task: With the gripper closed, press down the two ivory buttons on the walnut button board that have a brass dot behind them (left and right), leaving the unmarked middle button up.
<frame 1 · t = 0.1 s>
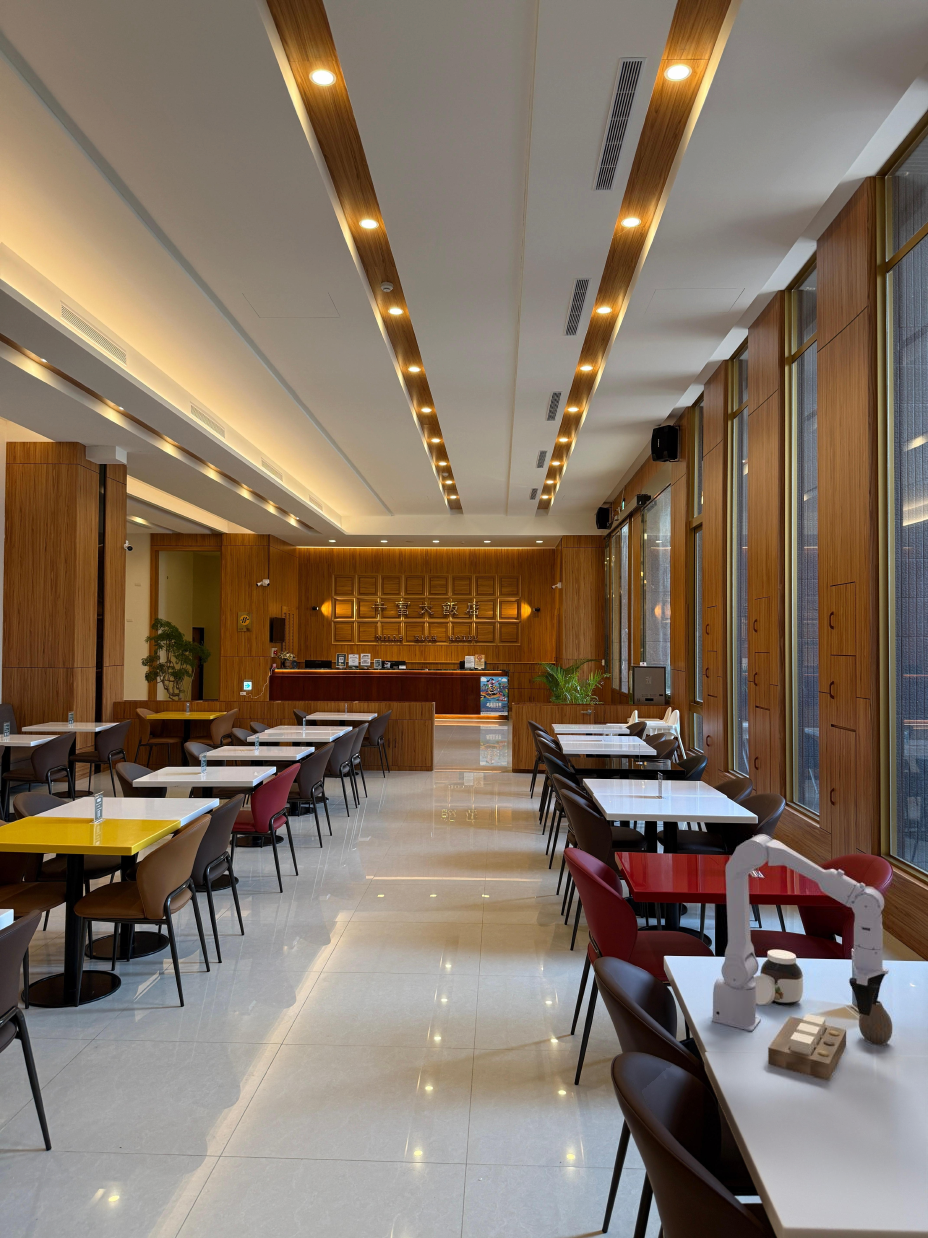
hand: (867, 1009, 184), 10 cm above the table, tool pointing down, fingers open, 7 cm apart
spread jar: (775, 1003, 212), on the table
button board: (808, 1055, 183), on the table
button left: (802, 1047, 178), point 4 cm above the table, slide at 0.0 cm
button middle: (808, 1037, 183), point 4 cm above the table, slide at 0.0 cm
button right: (814, 1028, 188), point 4 cm above the table, slide at 0.0 cm
vase: (875, 1042, 191), on the table
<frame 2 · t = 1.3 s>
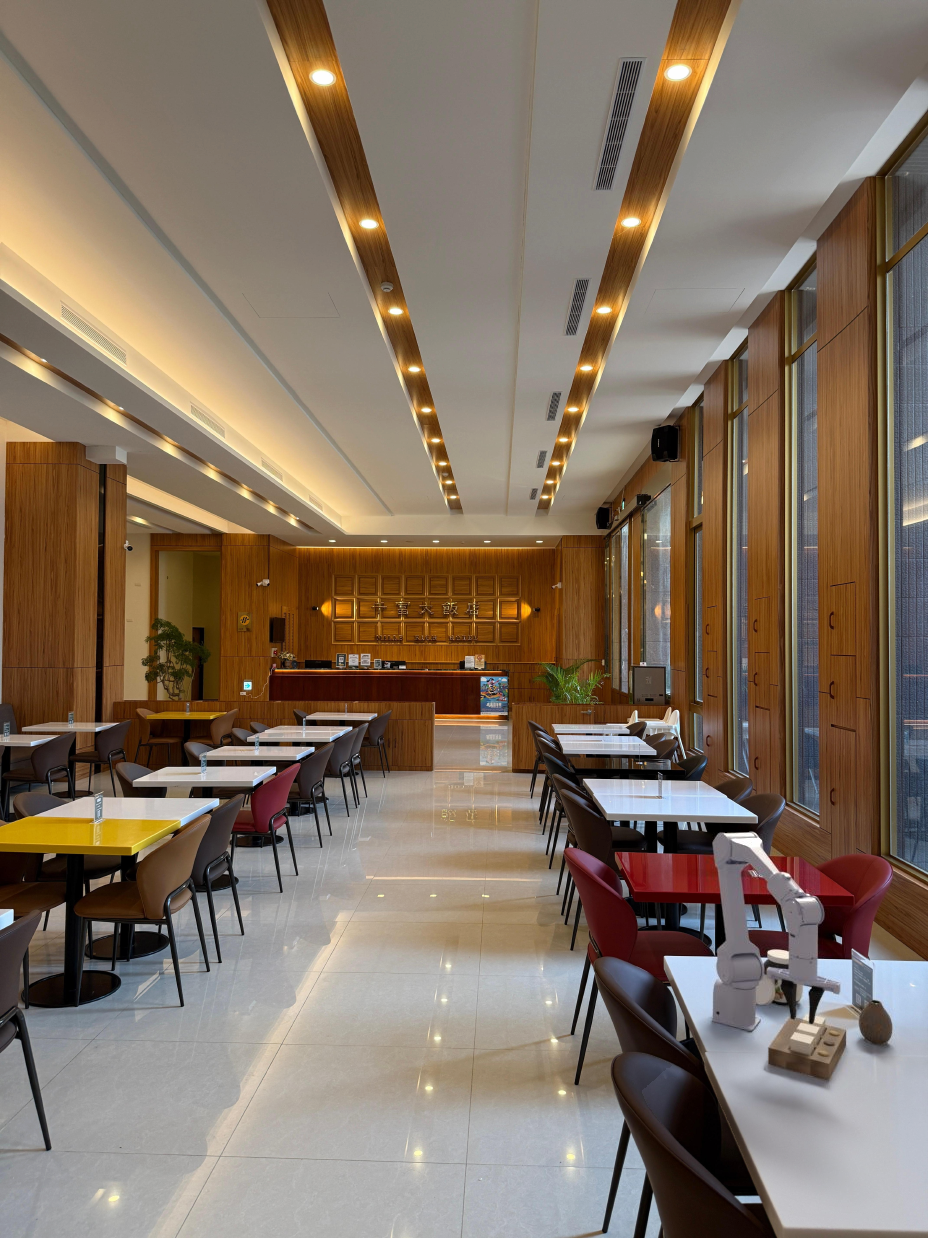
hand: (802, 1020, 179), 9 cm above the table, tool pointing down, fingers open, 3 cm apart
nothing on the table moved.
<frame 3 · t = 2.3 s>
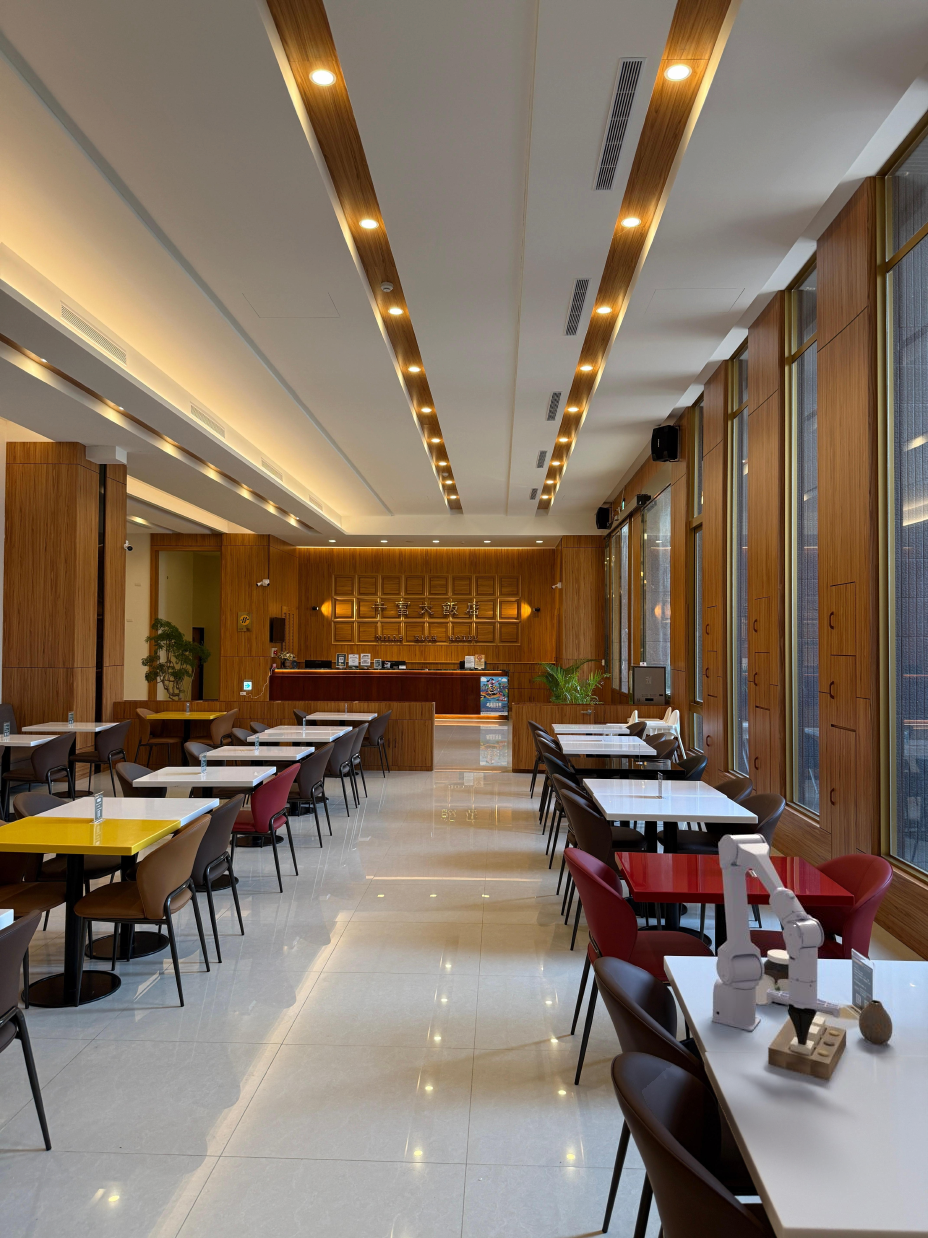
hand: (802, 1043, 178), 5 cm above the table, tool pointing down, fingers closed, pressing on button left
button left: (802, 1052, 178), point 3 cm above the table, slide at 1.0 cm, touching gripper
everything else where it was.
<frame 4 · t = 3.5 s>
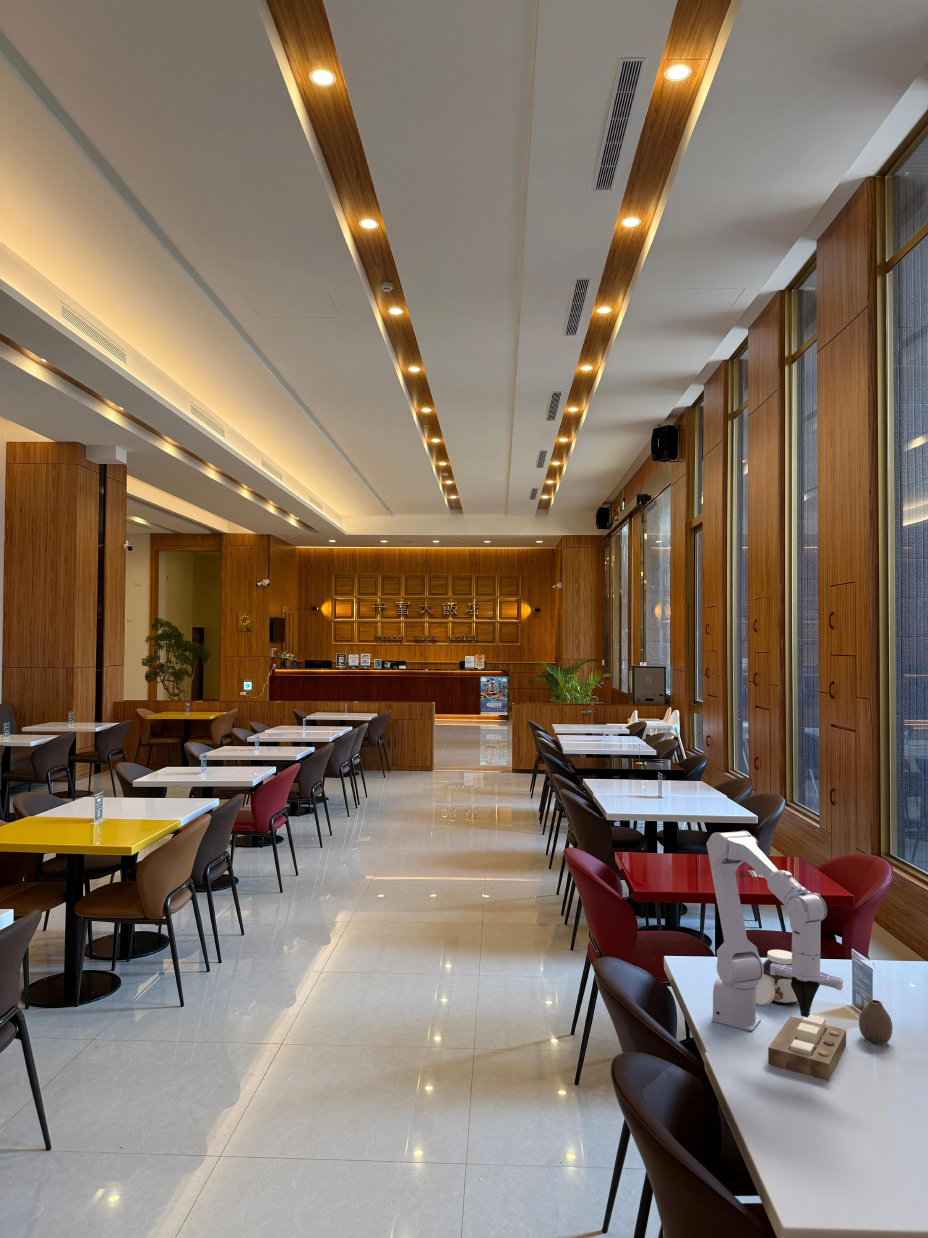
hand: (805, 1015, 181), 9 cm above the table, tool pointing down, fingers closed
button left: (802, 1055, 178), point 2 cm above the table, slide at 1.5 cm
everything else where it was.
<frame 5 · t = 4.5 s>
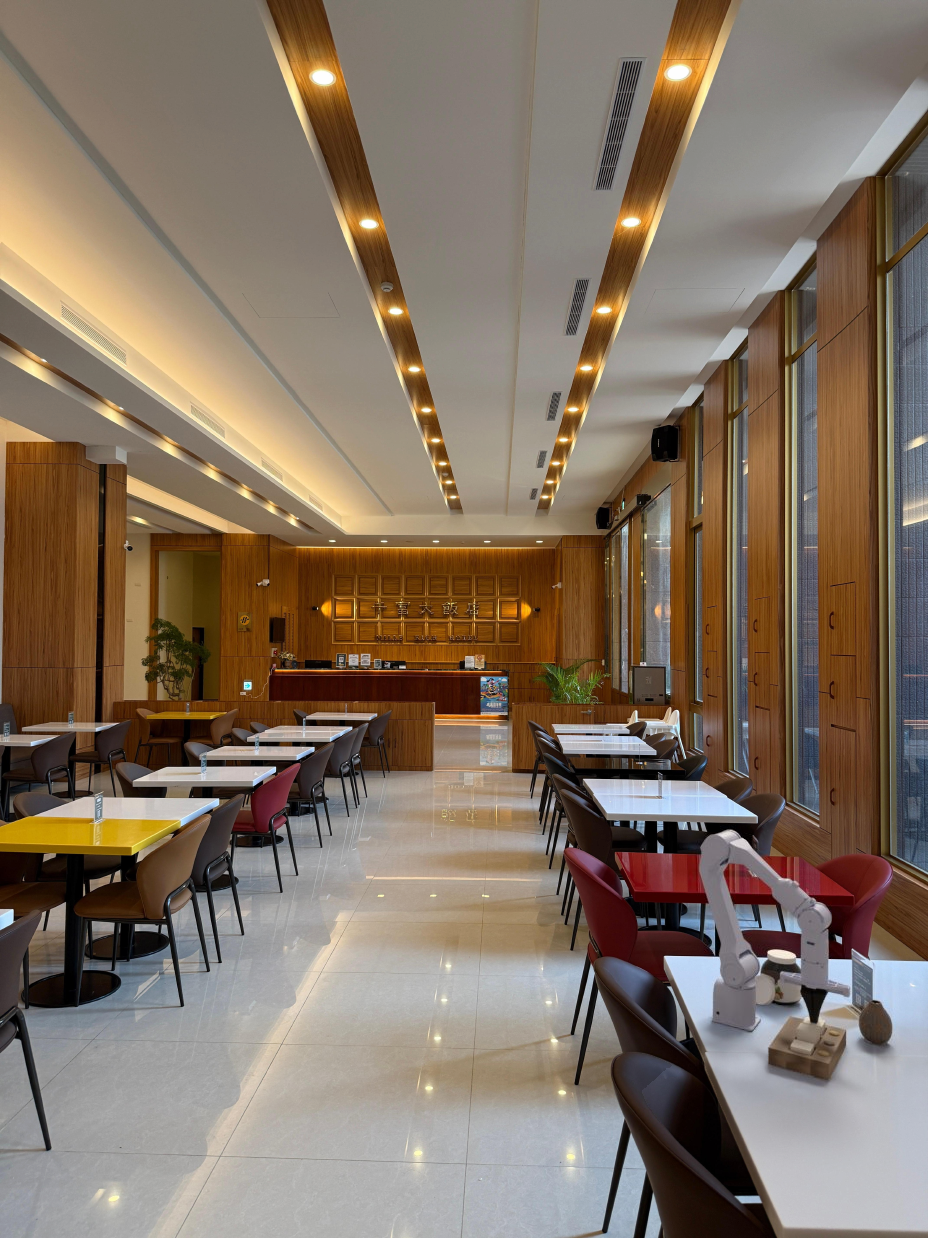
hand: (814, 1021, 188), 5 cm above the table, tool pointing down, fingers closed, pressing on button right
button right: (814, 1030, 188), point 3 cm above the table, slide at 0.6 cm, touching gripper
everything else where it was.
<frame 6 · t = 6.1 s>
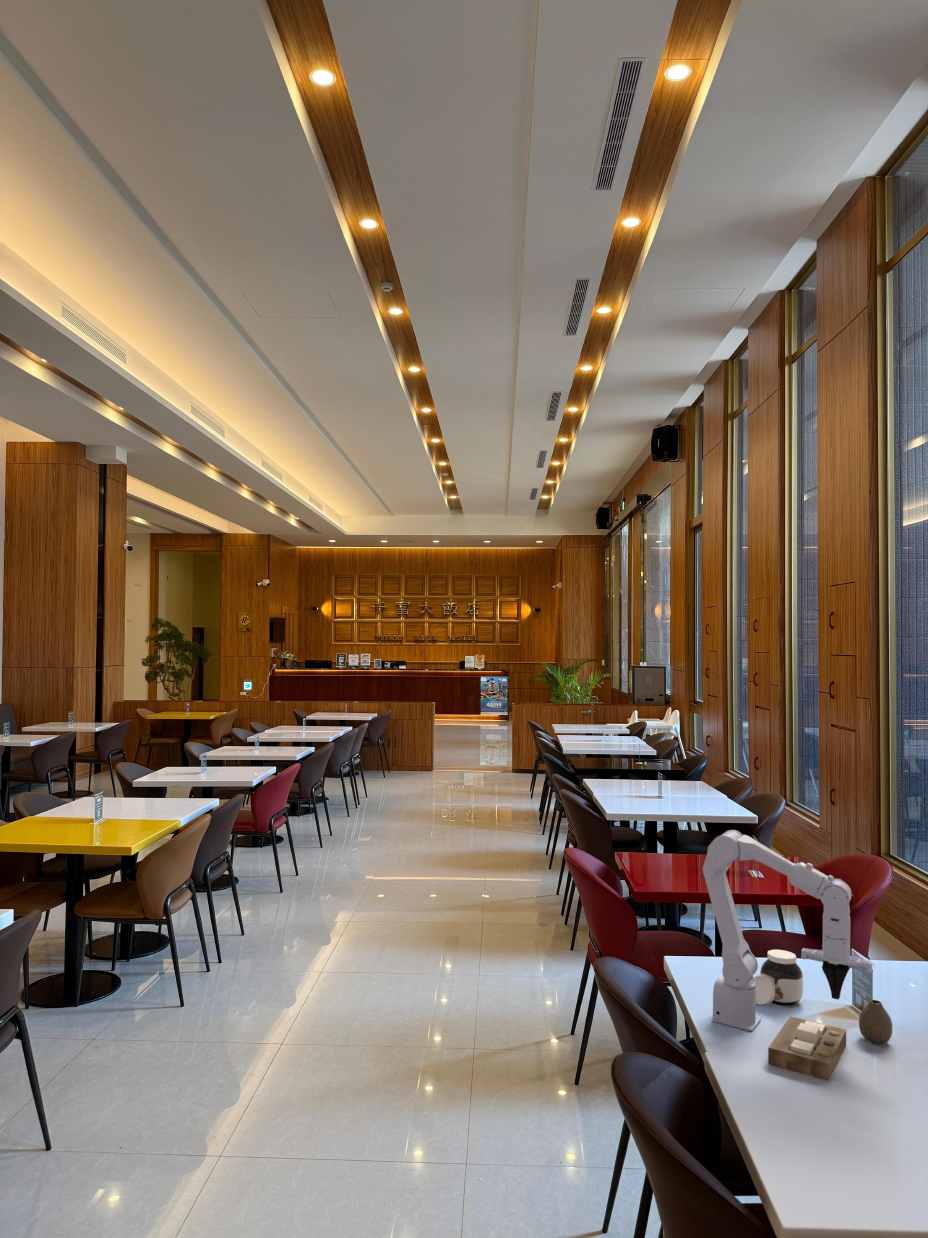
hand: (835, 997, 189), 10 cm above the table, tool pointing down, fingers closed
button right: (814, 1035, 188), point 2 cm above the table, slide at 1.5 cm
everything else where it was.
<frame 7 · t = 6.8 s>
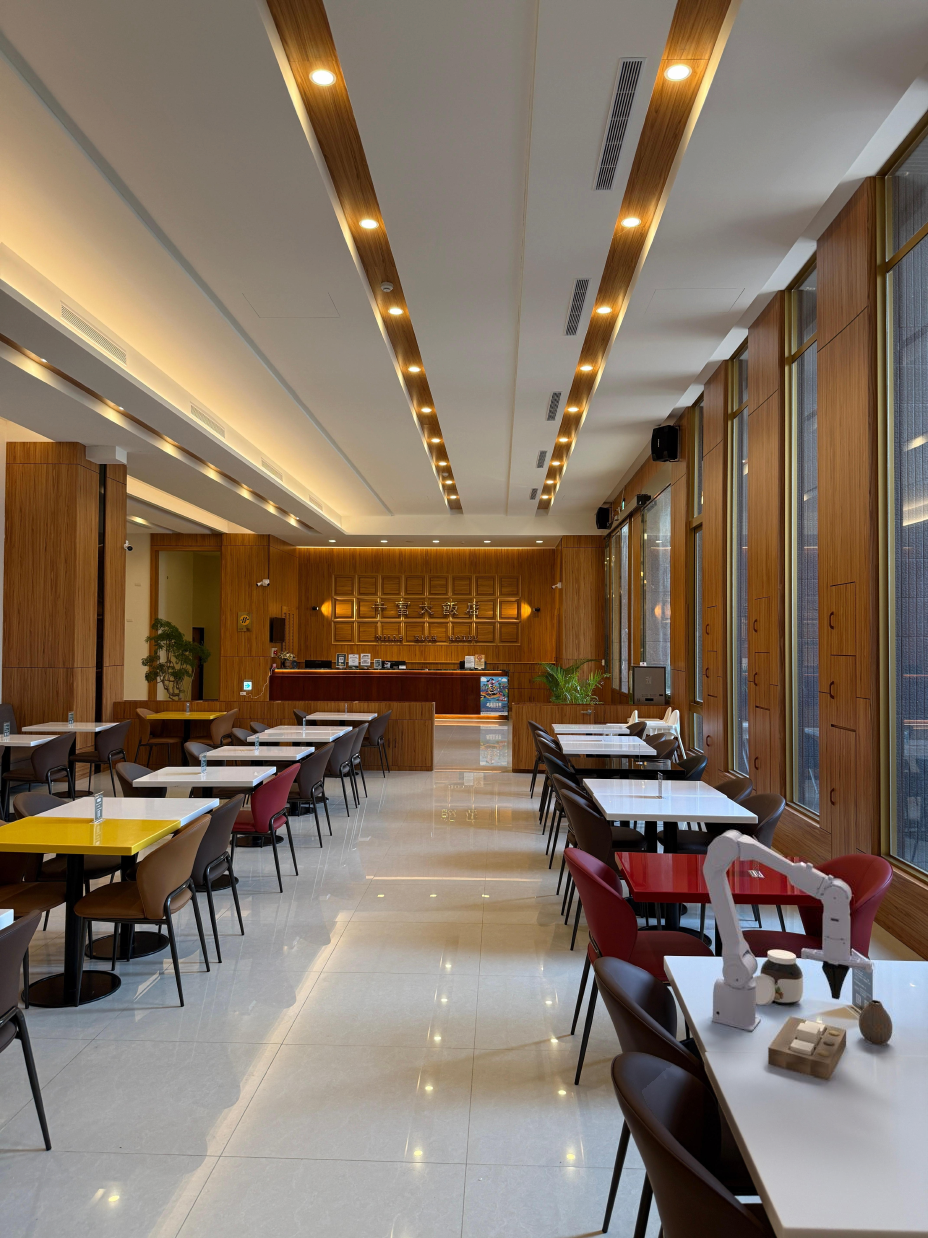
hand: (835, 997, 189), 10 cm above the table, tool pointing down, fingers closed
nothing on the table moved.
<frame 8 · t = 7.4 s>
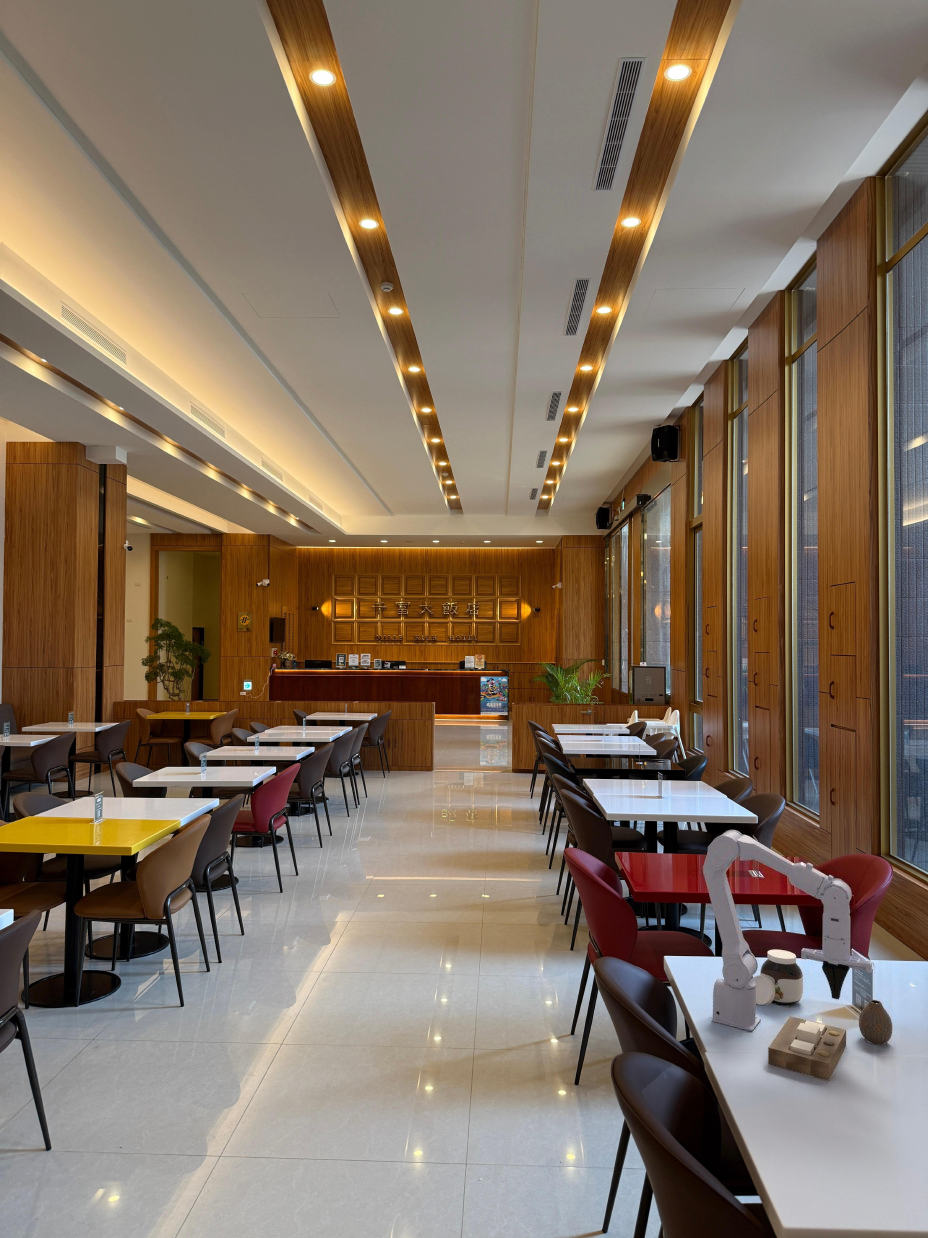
hand: (835, 997, 189), 10 cm above the table, tool pointing down, fingers closed
nothing on the table moved.
at the end: button left slide at 1.5 cm; button right slide at 1.5 cm; button middle slide at 0.0 cm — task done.
